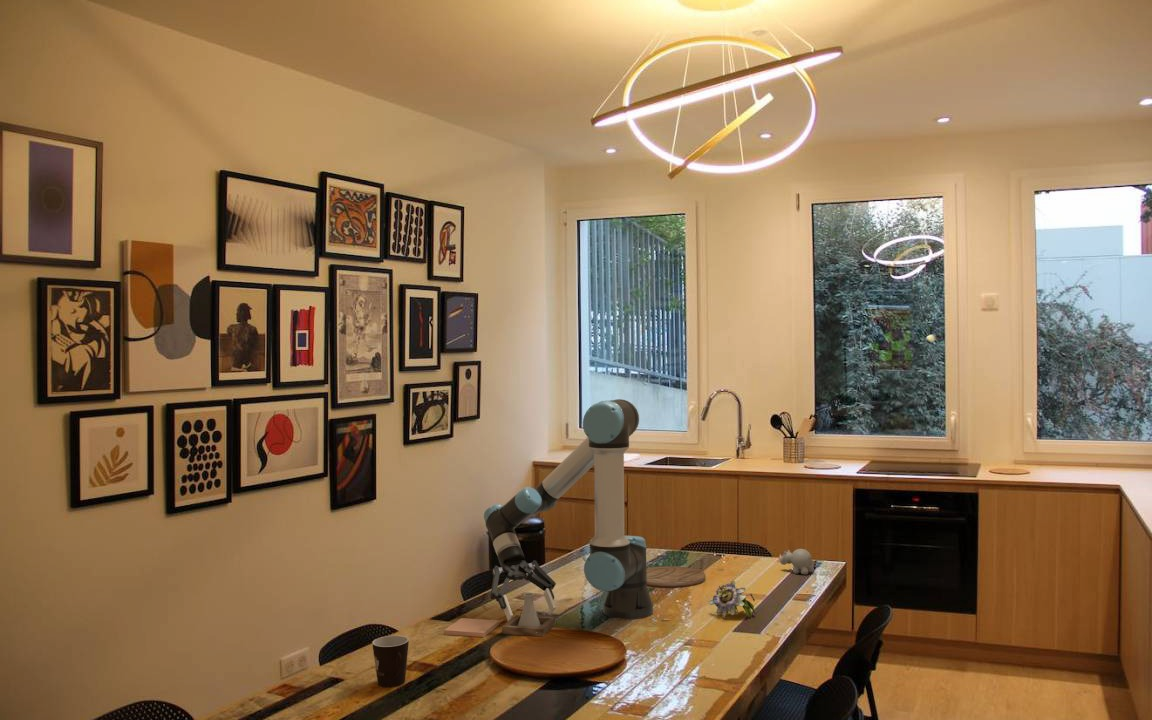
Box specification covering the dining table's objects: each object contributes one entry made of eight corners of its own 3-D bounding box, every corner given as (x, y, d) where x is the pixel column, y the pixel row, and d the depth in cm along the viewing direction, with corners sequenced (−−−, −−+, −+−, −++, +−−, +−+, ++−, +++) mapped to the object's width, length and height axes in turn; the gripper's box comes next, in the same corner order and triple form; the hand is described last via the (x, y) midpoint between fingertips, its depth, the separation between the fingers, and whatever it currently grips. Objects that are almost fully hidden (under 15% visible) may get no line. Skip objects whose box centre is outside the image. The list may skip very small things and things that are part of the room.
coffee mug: (375, 677, 215) (374, 636, 215) (411, 675, 216) (410, 634, 216) (368, 695, 204) (367, 651, 204) (406, 693, 205) (405, 649, 205)
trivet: (717, 576, 310) (717, 570, 310) (686, 592, 289) (686, 586, 289) (653, 568, 324) (653, 563, 324) (620, 583, 303) (620, 578, 303)
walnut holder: (555, 623, 256) (555, 617, 256) (542, 636, 245) (542, 629, 245) (516, 621, 260) (516, 614, 260) (502, 633, 248) (502, 626, 248)
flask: (538, 633, 248) (537, 597, 248) (513, 632, 249) (513, 597, 249) (544, 625, 255) (543, 591, 255) (520, 624, 256) (519, 590, 256)
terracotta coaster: (499, 624, 257) (499, 620, 257) (483, 637, 245) (483, 632, 245) (461, 622, 260) (461, 618, 260) (444, 634, 249) (444, 630, 249)
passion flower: (725, 635, 259) (700, 601, 261) (738, 619, 268) (714, 586, 270) (753, 619, 253) (727, 584, 255) (765, 603, 262) (741, 569, 264)
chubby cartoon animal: (785, 567, 319) (784, 544, 319) (815, 572, 311) (815, 548, 311) (775, 571, 313) (774, 547, 314) (806, 576, 305) (805, 552, 306)
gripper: (542, 553, 272) (566, 614, 259) (467, 564, 260) (488, 628, 247) (550, 539, 267) (574, 600, 254) (473, 549, 255) (495, 613, 242)
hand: (532, 614), depth 250 cm, fingers open, 13 cm apart
